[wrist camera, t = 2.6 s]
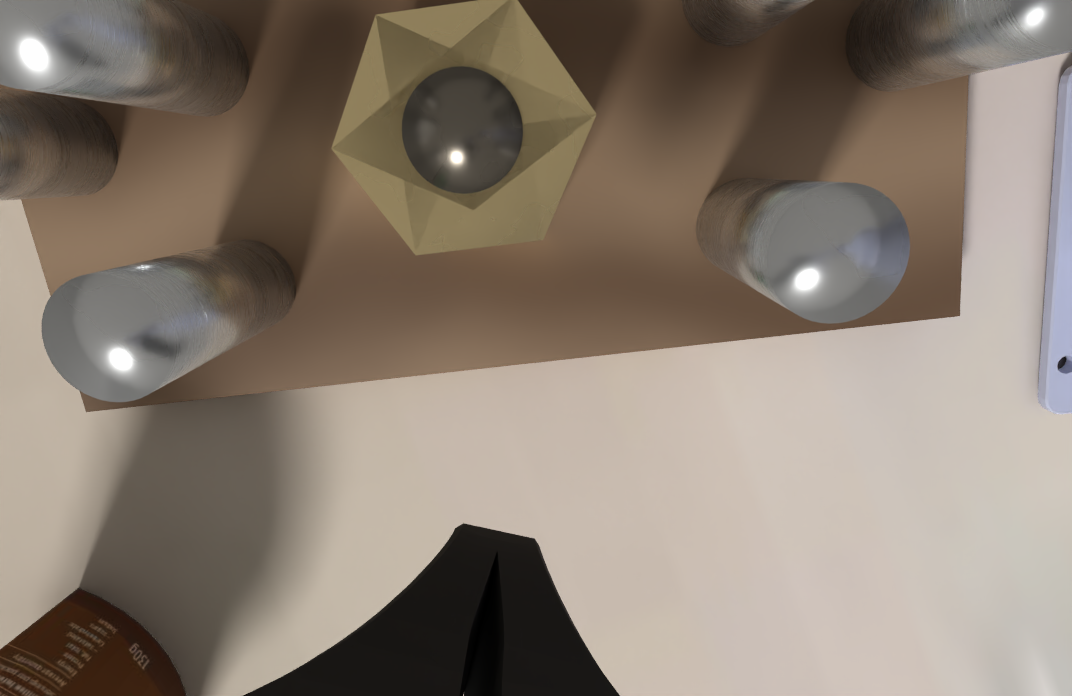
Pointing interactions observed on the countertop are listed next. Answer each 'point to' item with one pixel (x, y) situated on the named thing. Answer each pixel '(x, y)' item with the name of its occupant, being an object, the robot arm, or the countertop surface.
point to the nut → (462, 125)
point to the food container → (86, 655)
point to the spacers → (265, 276)
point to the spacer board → (577, 225)
